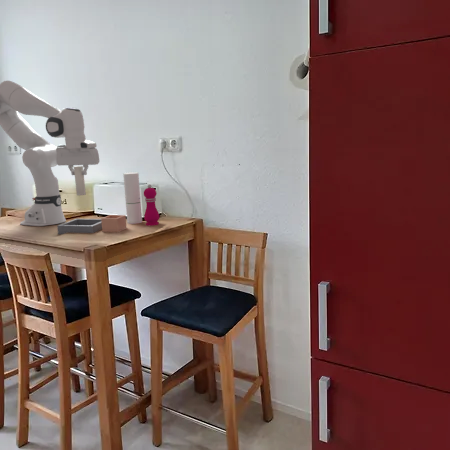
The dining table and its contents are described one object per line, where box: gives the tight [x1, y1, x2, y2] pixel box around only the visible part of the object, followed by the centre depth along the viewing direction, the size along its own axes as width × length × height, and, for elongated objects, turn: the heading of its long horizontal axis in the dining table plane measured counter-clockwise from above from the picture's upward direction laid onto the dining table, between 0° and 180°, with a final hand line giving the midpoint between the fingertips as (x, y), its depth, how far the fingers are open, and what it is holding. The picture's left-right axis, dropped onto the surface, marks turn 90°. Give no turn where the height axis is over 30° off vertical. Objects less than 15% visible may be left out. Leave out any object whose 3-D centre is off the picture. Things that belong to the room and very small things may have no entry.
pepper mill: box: [143, 184, 160, 227], centre depth 224 cm, size 7×7×20 cm
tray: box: [56, 218, 102, 235], centre depth 222 cm, size 18×16×4 cm
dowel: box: [73, 165, 87, 196], centre depth 217 cm, size 4×4×13 cm
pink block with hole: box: [100, 214, 128, 233], centre depth 216 cm, size 8×8×7 cm
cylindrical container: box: [122, 171, 143, 225], centre depth 230 cm, size 7×7×25 cm
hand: (79, 175), depth 217 cm, fingers closed on dowel, 4 cm apart
